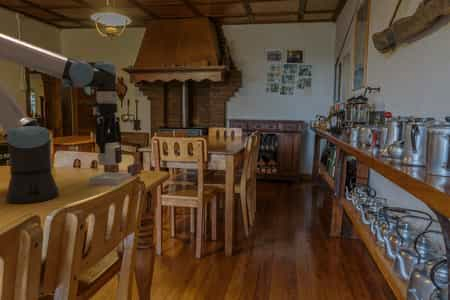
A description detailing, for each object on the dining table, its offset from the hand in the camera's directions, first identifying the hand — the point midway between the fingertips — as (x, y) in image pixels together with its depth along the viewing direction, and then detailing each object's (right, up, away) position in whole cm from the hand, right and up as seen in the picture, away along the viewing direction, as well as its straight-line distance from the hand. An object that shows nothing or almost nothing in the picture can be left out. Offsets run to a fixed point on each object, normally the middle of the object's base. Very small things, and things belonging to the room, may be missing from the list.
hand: (110, 159), depth 132 cm
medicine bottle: (0, -2, 0) cm, 2 cm away
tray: (0, -9, +1) cm, 9 cm away
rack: (+1, -7, +15) cm, 16 cm away
